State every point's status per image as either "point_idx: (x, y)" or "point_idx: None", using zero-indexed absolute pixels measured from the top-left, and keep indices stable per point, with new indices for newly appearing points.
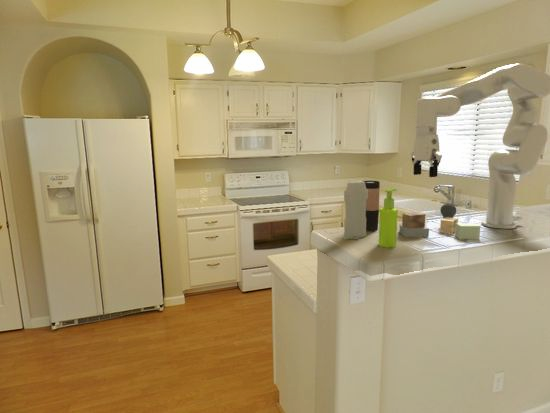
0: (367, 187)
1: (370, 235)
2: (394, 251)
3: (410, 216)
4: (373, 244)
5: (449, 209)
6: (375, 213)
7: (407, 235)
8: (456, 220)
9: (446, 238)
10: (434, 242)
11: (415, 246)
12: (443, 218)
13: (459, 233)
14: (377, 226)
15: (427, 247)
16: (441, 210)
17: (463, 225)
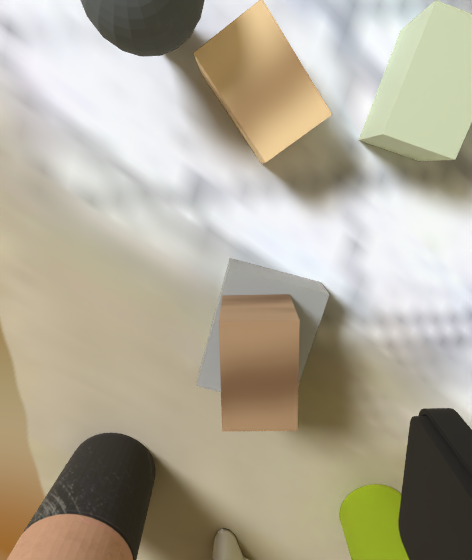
0: None
1: (219, 507)
2: None
3: (296, 419)
4: (345, 550)
5: (191, 11)
6: (135, 535)
7: None
8: (283, 38)
9: (386, 222)
10: (419, 321)
11: None
12: (234, 114)
13: (423, 158)
14: (138, 456)
15: (466, 392)
16: (137, 53)
17: (450, 130)
